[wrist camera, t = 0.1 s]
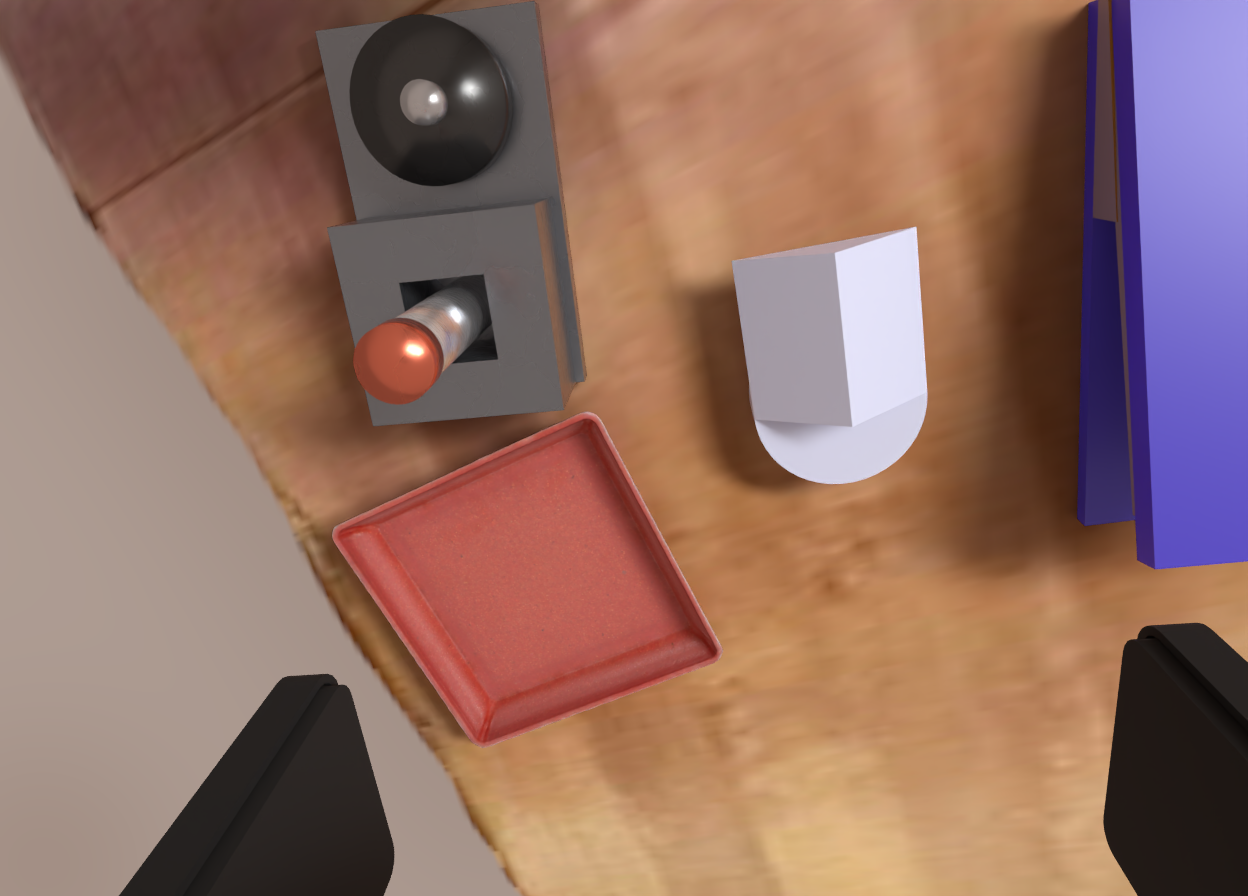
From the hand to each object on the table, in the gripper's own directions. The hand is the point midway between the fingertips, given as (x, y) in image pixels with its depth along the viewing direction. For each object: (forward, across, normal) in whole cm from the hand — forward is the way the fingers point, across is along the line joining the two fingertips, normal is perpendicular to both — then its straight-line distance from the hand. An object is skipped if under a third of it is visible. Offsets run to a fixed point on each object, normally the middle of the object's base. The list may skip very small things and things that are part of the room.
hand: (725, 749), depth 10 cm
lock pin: (+35, +12, 0) cm, 37 cm away
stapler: (+37, -26, +2) cm, 45 cm away
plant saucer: (+37, +11, +18) cm, 43 cm away
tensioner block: (+37, +12, -5) cm, 39 cm away
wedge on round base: (+37, -7, +5) cm, 38 cm away
